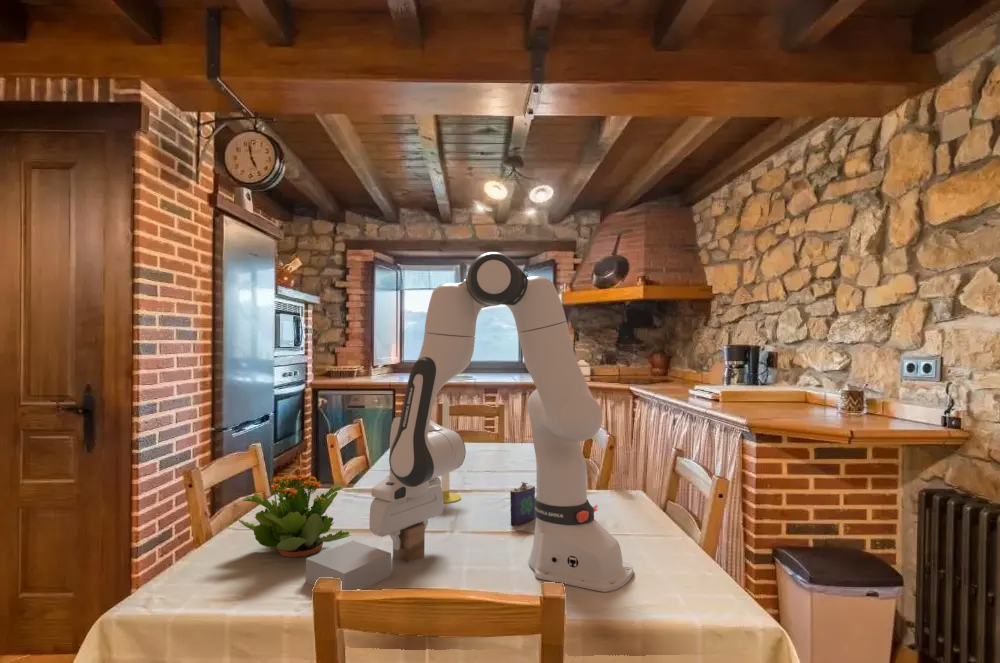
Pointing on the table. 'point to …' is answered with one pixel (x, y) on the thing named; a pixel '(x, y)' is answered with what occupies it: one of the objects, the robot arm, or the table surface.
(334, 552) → the plate
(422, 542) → the walnut block
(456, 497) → the wheel axle
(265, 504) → the potted flower
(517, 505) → the flask
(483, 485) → the table surface
